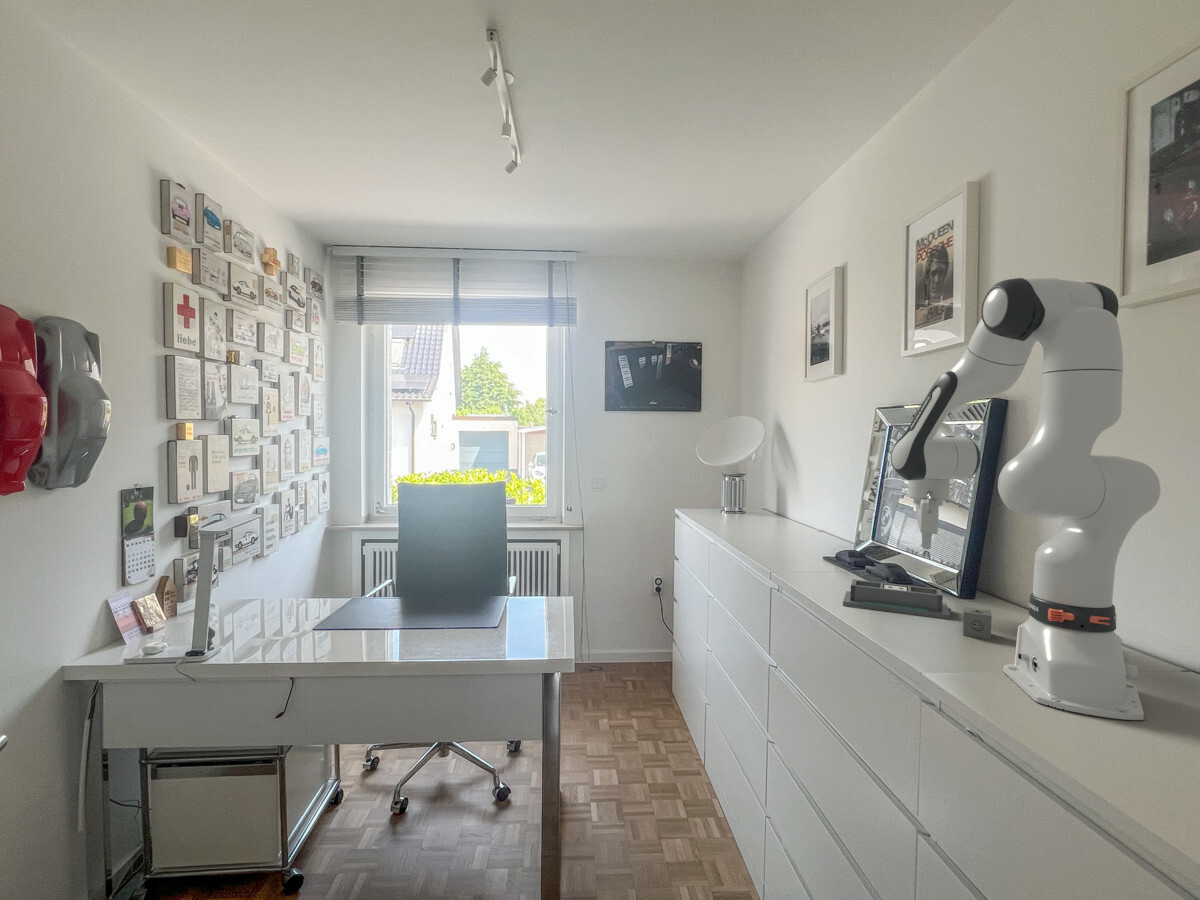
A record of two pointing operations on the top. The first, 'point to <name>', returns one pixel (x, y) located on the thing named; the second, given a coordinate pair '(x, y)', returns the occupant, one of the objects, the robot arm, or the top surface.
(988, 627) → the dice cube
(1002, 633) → the top surface
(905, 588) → the grey key
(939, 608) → the grey slotted tray
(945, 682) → the top surface
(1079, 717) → the top surface
